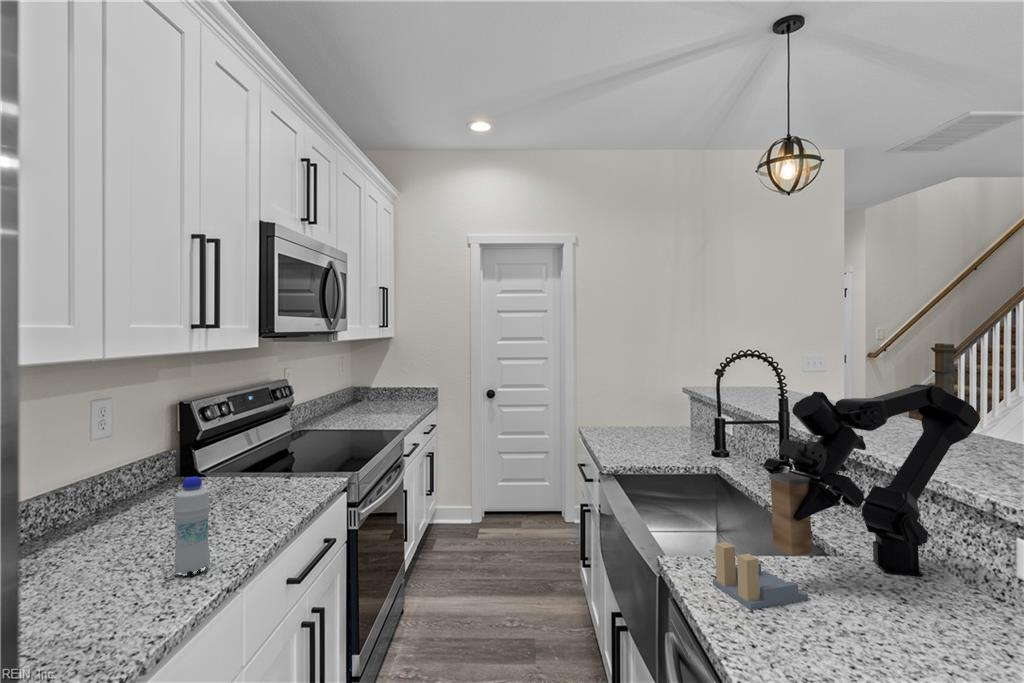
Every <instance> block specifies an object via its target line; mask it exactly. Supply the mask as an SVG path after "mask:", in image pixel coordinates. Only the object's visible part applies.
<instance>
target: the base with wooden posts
mask: <svg viewBox="0 0 1024 683" xmlns="http://www.w3.org/2000/svg"><path fill="white" fill-rule="evenodd" d="M736 561H737V562H736ZM715 574H716V575H715V576H716V578H712V585H713V586H715V587H716V588H717V589H719V590H720V591H722V592H723V593H725V594H726V595H728V596H729V597H731V598H732V599H734V600H735V601H737V602H738V603H740V604H742V605H743V606H744V607H745V608H747V609H749V610H751V611H752V610H757V609H758V610H759V609H764V608H768V607H775V606H781V605H786V604H787V605H788V604H791V603H792V602H793V603H797V601H798V602H803V601H802V600H804V601H808V600H809V594H808V593H807V592H805V591H803V590H802V589H799V583H797V582H795V581H785V580H783V579H781V578H779V577H778V576H775V575H774V574H772V573H770V572H768V571H766V570H764V571H763V570H762V564H761V563H760V562H759V558H758V557H755V556H753V555H752V554H751V553H744V554H743V553H742V554H737V555H736V546H735V545H733V544H731V543H729V542H727V541H724V542H717V543H715Z"/></svg>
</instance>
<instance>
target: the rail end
mask: <svg viewBox="0 0 1024 683" xmlns="http://www.w3.org/2000/svg"><path fill="white" fill-rule="evenodd" d="M768 474H769V473H768ZM768 478H769V480H770V498H771V520H772V521H771V522H772V546H773V548H774V549H776V550H778V551H780V552H783V553H784V554H786V555H788V556H790V557H795V556H801V555H807V554H812V553H813V548H812V546H813V545H812V544H813V543H812V523H811V522H812V519H811V518H812V517H811V516H809V517H807V518H804V519H802V520H800V521H796V520H795V519H794V515H795V512H796V510H797V509H798V507H799V506H800V504H801V502H802V501H803V499H804V498H805V496H806V495H807V493H808V484H809V480H810V478H809V477H805V476H802V475H798V474H795V473H791V472H787V473H778V474H769V475H768Z"/></svg>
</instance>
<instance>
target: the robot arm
mask: <svg viewBox="0 0 1024 683" xmlns="http://www.w3.org/2000/svg"><path fill="white" fill-rule="evenodd" d="M791 410H792V414H793V415H794V417H796V419H797V420H798V421H799V422H800V423H801V424H802V425H803V426H804V427H805V428H806V430H808V431H809V433H810V434H811V435H813V436H815V437H818V439H817V440H816V441H813V440H810V441H808V442H806V443H804V442H800V441H797V440H791V439H786V438H783V439H782V441H781V445H780V448H779V451H778V453H777V454H778V455H779V456H782V457H783V456H784V457H785V458H788V459H790V460H791V464H792V466H794V467H795V468H797V470H796V469H794V468H793V467H792V466H791V465H790V464H789V463H788V462H787V461H786V460H783V459H779V458H777V457H776V458H775V457H768V458H767V459H766V460H765V461H764V463H763V464H762V467H763V468H764V469H765V471H767V472H768V474H778V473H787V472H791V473H795V474H798V475H802V476H805V477H809V478H810V480H809V484H808V493H807V495H806V496H805V498H804V499H803V501H802V502H801V504H800V506H799V507H798V509H797V510H796V512H795V515H794V519H795V520H796V521H800V520H802V519H804V518H807V517H809V516H810V517H811V516H813V515H815V514H817V513H820V512H822V511H825V510H827V509H830V508H833V507H839V506H841V502H840V500H842V503H843V504H844V505H845V506H846V505H847V506H850V507H852V508H855V509H859V508H860V507H861V505H862V507H861V515H862V517H863V520H864V524H865V526H866V530H867V532H868V533H873V534H875V540H873V541H872V555H873V558H872V559H873V560H872V561H873V562H874V563H875V564H876V565H877V566H878V567H879V568H880V569H881V570H882V572H884V573H887V574H895V575H896V574H897V575H907V576H918V577H924V573H923V572H922V571H921V570H920V560H919V558H920V555H919V547H922V546H923V545H924V544H927V542H928V541H927V540H928V538H929V537H928V536H929V532H928V530H927V529H926V528H925V527H924V526H923V525H922V524H921V523H920V522H919V518H920V510H919V505H918V500H919V498H920V496H921V494H922V493H923V491H924V490H925V488H926V487H927V485H928V483H929V482H930V481H931V478H932V477H933V476H934V474H935V472H936V471H937V469H938V467H939V466H940V464H941V463H942V461H943V459H944V458H945V456H946V454H947V453H948V451H949V450H950V448H951V446H953V445H954V444H957V443H958V442H959V443H960V441H963V440H965V439H967V438H969V437H970V435H971V434H972V433H973V432H974V430H976V428H977V427H978V425H979V424H980V421H981V417H980V413H979V412H978V411H977V410H976V408H975V407H974V406H972V405H971V404H970V403H968V402H967V401H965V400H964V399H961V398H959V397H958V396H955V395H953V394H951V393H949V392H947V391H945V390H944V389H943V388H942V387H941V386H938V385H936V384H935V385H934V384H918V383H917V384H913V385H910V386H909V387H906V388H903V389H899V390H895V391H891V392H888V393H885V394H882V395H878V396H874V397H868V398H867V397H865V398H864V397H861V398H859V397H855V398H854V397H853V398H841V399H839V400H836V402H835V404H833V403H832V402H831V401H830V400H829V398H828V396H827V395H826V394H825V393H824V392H823V391H813V392H812V393H811V395H808V396H805V397H803V398H801V399H800V400H799V401H796V402H795V403H794V405H793V407H792V409H791ZM911 411H915V412H916V413H917V414H918V415H920V416H921V419H920V422H921V427H922V430H923V431H922V434H921V435H920V437H919V438H918V440H916V441H917V442H916V443H915V444H914V446H913V448H912V450H911V451H910V452H909V453H908V456H906V459H905V460H904V461H903V463H902V464H901V466H900V468H899V469H898V471H897V473H896V474H895V476H894V478H893V479H892V480H891V482H890V483H889V484H888V485H887V486H884V487H883V486H879V485H873V487H871V488H870V491H869V493H868V495H867V496H866V497H865V494H864V492H863V490H861V488H859V486H858V485H857V484H856V483H855V482H854V481H853V480H852V478H851V477H849V476H847V475H842V474H838V473H839V472H841V473H842V472H843V473H845V472H846V471H847V469H848V467H847V466H846V465H845V463H846V461H847V460H848V459H849V457H850V455H851V454H852V452H853V451H854V449H856V450H860V451H861V450H862V451H866V450H867V447H866V446H867V445H866V442H865V441H864V436H863V435H859V434H857V433H856V432H855V430H858V431H859V430H860V431H867V432H873V431H876V430H877V429H879V428H880V427H883V426H885V425H886V424H887V423H888V422H887V421H888V419H890V418H892V417H895V416H899V415H903V414H905V413H909V412H911Z"/></svg>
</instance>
